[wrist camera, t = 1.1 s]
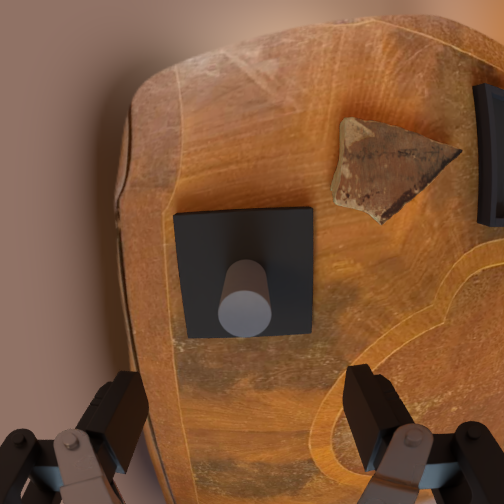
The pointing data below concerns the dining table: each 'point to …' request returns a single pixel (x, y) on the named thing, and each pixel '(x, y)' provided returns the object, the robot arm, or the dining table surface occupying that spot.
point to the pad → (246, 241)
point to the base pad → (490, 153)
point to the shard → (385, 166)
